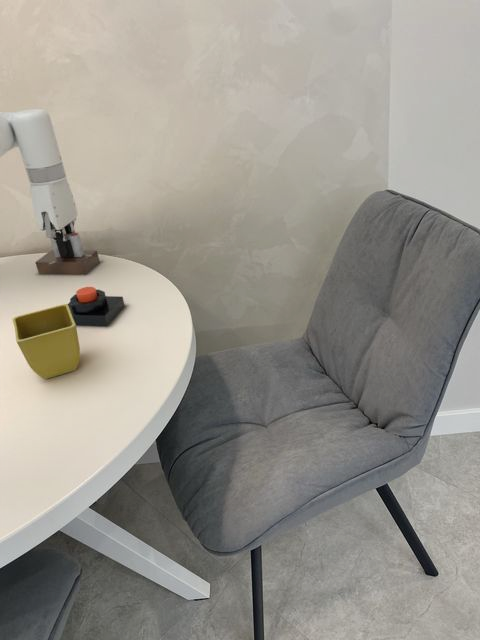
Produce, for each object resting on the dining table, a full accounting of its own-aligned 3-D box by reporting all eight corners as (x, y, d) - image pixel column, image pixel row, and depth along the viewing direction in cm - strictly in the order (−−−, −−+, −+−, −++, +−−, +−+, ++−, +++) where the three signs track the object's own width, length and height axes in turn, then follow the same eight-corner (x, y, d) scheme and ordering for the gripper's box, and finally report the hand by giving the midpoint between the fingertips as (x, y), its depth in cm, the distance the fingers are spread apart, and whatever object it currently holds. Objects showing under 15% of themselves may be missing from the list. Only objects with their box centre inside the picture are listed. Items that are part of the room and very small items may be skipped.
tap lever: (55, 257, 125) (48, 235, 123) (58, 254, 127) (52, 233, 124) (81, 257, 124) (75, 235, 121) (84, 254, 125) (78, 232, 123)
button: (75, 303, 102) (72, 294, 102) (84, 294, 105) (81, 286, 105) (92, 303, 102) (90, 295, 101) (101, 294, 105) (98, 286, 104)
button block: (59, 325, 103) (53, 306, 101) (79, 305, 110) (74, 287, 108) (107, 326, 101) (102, 307, 99) (125, 306, 108) (120, 288, 106)
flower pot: (90, 373, 88) (75, 324, 83) (34, 390, 85) (15, 341, 80) (81, 348, 95) (67, 302, 90) (29, 364, 92) (11, 317, 87)
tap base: (36, 276, 125) (31, 263, 123) (57, 260, 132) (53, 247, 131) (85, 277, 122) (81, 263, 120) (103, 260, 130) (100, 247, 128)
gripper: (48, 164, 123) (70, 242, 132) (10, 184, 110) (38, 269, 119) (79, 163, 121) (99, 241, 131) (44, 183, 108) (69, 268, 118)
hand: (69, 254), depth 125 cm, fingers closed on tap lever
